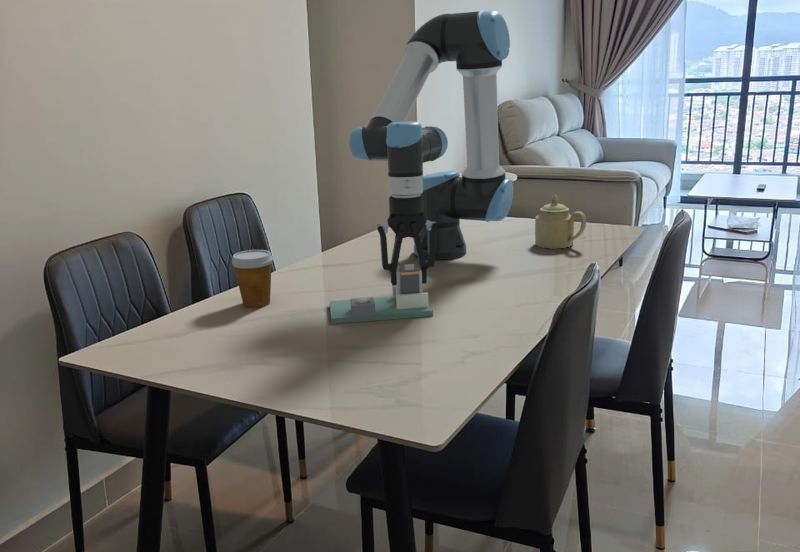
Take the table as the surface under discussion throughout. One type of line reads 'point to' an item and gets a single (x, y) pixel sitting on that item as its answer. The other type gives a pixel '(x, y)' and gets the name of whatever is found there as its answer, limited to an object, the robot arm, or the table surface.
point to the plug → (409, 279)
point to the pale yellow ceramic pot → (556, 226)
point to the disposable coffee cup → (253, 276)
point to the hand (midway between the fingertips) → (409, 297)
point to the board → (381, 308)
